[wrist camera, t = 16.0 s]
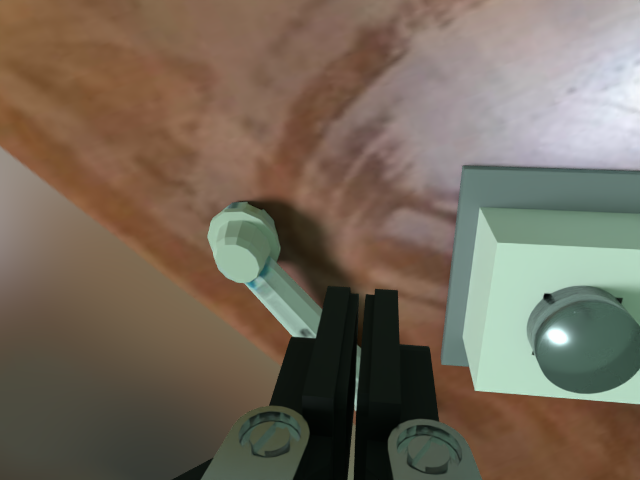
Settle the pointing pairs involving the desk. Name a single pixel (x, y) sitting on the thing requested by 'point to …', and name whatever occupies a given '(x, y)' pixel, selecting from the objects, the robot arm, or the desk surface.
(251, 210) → the white flashlight
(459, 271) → the hitch block
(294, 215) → the desk surface
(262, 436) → the robot arm
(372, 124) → the desk surface
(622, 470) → the desk surface
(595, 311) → the steel pin
